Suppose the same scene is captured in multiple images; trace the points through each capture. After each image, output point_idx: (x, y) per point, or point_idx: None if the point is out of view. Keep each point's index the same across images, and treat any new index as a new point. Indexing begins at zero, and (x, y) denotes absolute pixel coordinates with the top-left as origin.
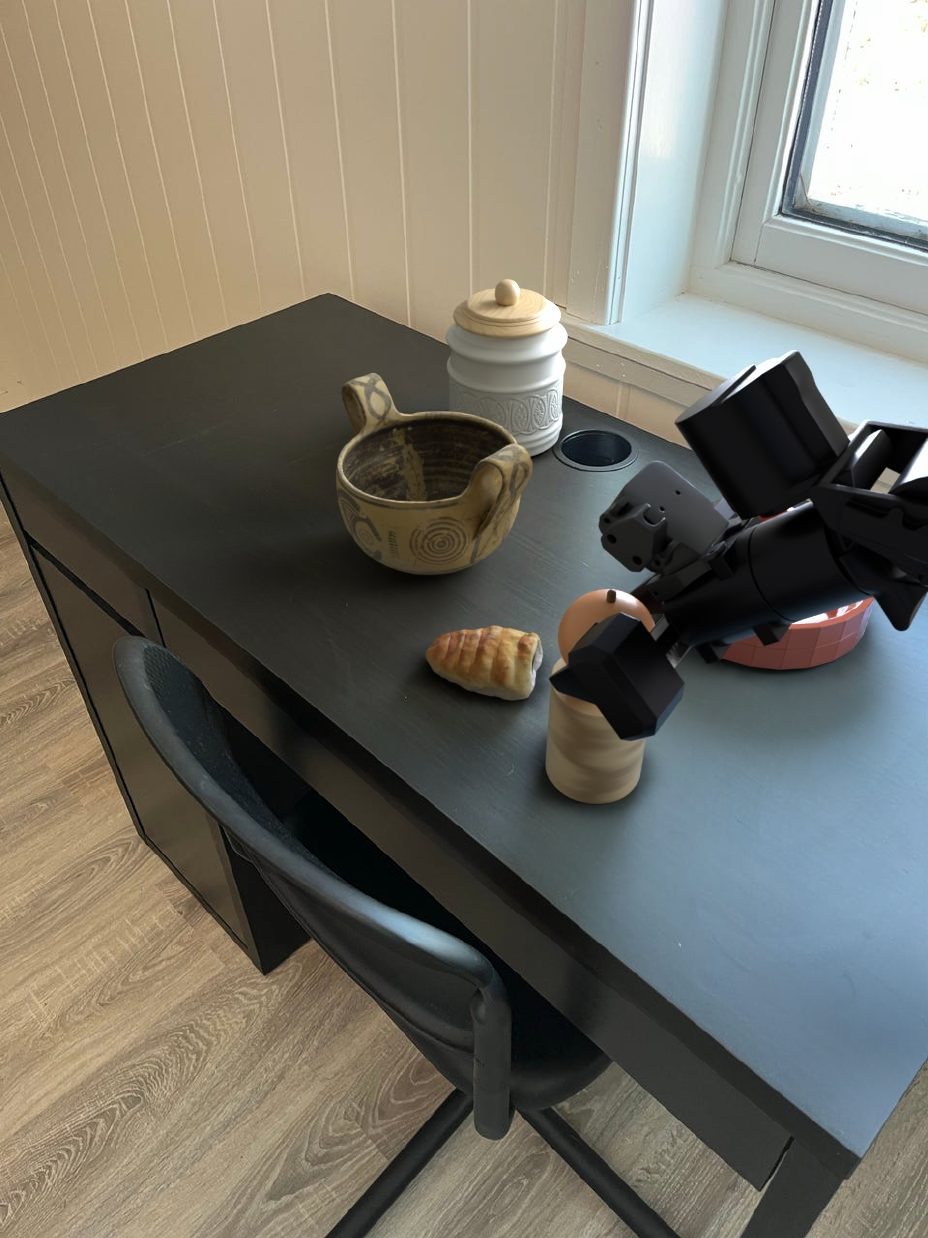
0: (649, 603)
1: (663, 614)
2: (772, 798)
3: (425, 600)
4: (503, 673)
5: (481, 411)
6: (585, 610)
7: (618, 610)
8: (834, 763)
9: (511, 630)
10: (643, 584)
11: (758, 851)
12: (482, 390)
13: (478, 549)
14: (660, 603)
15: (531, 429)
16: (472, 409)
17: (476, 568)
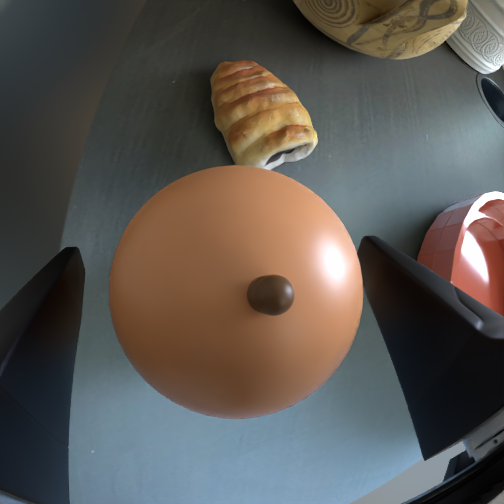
0: (389, 305)
1: (426, 233)
2: (285, 445)
3: (294, 38)
4: (236, 136)
5: None
6: (179, 236)
7: (238, 344)
8: (353, 453)
9: (299, 110)
10: (417, 281)
11: (221, 464)
12: (471, 1)
13: (360, 38)
14: (397, 330)
15: (478, 49)
16: None
17: (358, 58)
